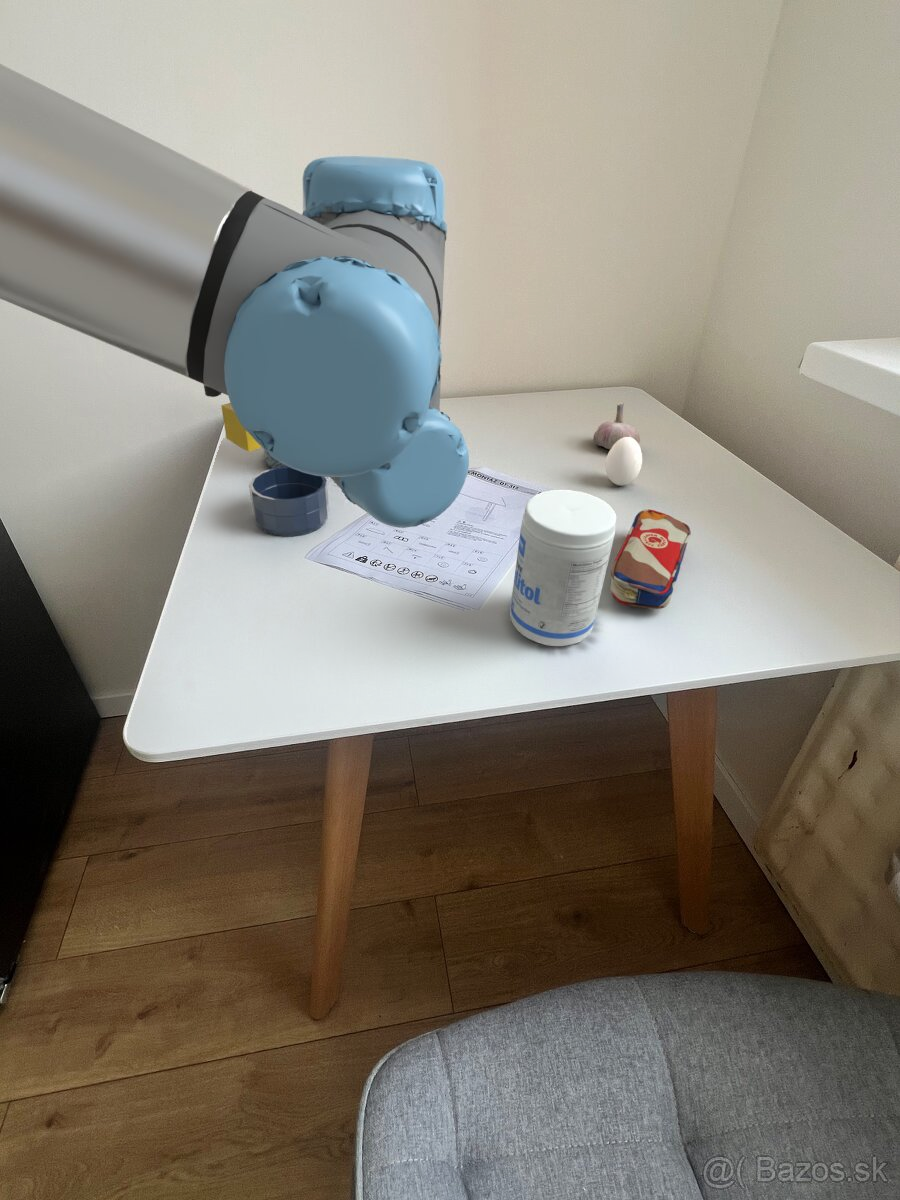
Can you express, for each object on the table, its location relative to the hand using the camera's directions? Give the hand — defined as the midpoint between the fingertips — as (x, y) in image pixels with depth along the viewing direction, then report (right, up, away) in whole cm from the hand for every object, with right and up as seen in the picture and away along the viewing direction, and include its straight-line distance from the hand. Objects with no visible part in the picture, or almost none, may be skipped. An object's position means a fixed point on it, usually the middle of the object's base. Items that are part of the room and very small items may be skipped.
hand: (222, 317), depth 67 cm
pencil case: (+47, -24, +21) cm, 57 cm away
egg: (+48, -9, +41) cm, 64 cm away
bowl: (0, -16, +29) cm, 33 cm away
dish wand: (+2, -11, +3) cm, 12 cm away
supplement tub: (+33, -30, +12) cm, 47 cm away
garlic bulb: (+50, -1, +52) cm, 72 cm away
